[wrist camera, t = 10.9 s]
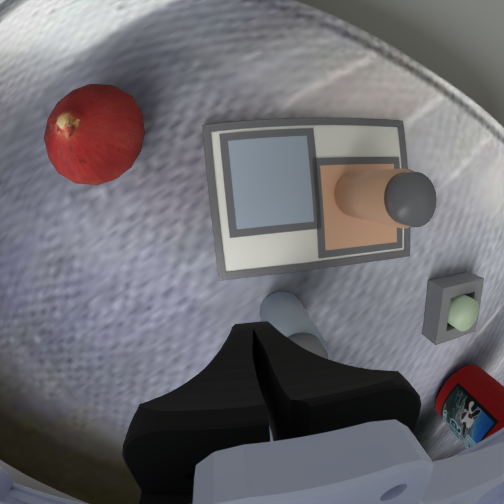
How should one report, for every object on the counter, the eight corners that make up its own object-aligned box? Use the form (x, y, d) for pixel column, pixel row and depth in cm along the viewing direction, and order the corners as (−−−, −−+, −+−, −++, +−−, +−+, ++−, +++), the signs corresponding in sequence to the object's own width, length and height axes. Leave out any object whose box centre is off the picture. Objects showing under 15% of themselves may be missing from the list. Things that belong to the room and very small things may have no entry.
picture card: (405, 254, 22) (409, 256, 21) (219, 277, 21) (219, 280, 20) (398, 122, 20) (402, 120, 19) (203, 127, 19) (202, 125, 18)
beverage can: (427, 387, 25) (493, 461, 14) (474, 349, 25) (547, 406, 13) (435, 420, 27) (487, 486, 15) (478, 386, 27) (537, 440, 15)
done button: (455, 313, 24) (475, 327, 21) (432, 320, 24) (453, 335, 20) (458, 285, 23) (481, 296, 20) (436, 290, 23) (458, 303, 20)
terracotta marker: (373, 216, 20) (438, 230, 13) (334, 217, 20) (391, 232, 13) (373, 172, 20) (438, 170, 13) (333, 171, 19) (390, 166, 12)
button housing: (461, 321, 24) (475, 331, 22) (422, 333, 24) (435, 344, 22) (468, 271, 23) (483, 278, 21) (427, 280, 23) (443, 288, 20)
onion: (72, 178, 19) (2, 180, 11) (88, 99, 18) (28, 65, 10) (147, 189, 19) (101, 193, 12) (164, 105, 18) (131, 62, 10)
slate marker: (302, 326, 22) (330, 380, 16) (261, 332, 22) (276, 390, 15) (300, 288, 22) (332, 333, 15) (258, 293, 21) (272, 342, 15)
